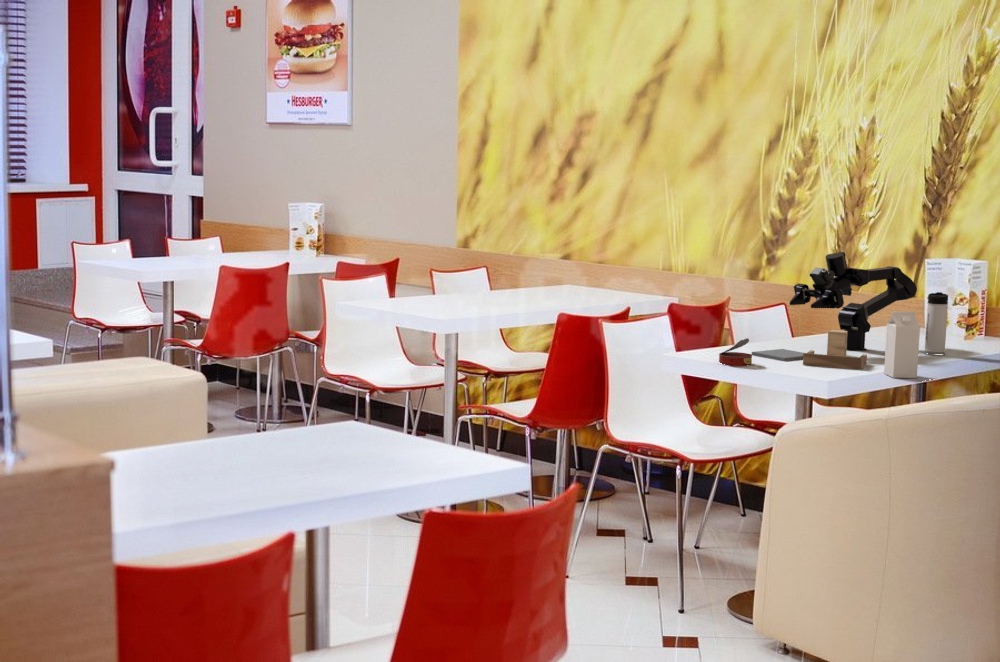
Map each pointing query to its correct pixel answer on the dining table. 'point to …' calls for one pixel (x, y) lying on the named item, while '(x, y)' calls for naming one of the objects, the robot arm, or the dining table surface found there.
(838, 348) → the packed blank
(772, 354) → the mat
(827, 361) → the tray
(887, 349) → the milk carton
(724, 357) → the canned food
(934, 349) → the travel mug
